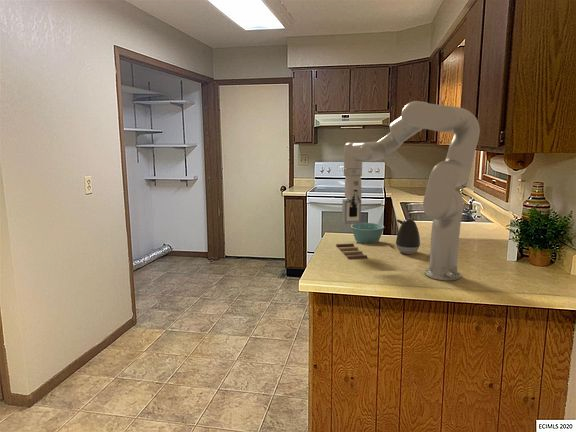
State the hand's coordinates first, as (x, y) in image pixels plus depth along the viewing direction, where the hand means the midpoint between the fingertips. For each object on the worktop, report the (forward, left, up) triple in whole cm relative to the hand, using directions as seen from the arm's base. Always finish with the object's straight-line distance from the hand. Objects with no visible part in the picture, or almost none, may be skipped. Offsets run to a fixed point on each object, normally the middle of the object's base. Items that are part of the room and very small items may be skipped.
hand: (351, 215), depth 177 cm
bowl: (+21, -14, -18) cm, 31 cm away
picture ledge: (0, 0, -18) cm, 18 cm away
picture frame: (0, 0, -3) cm, 3 cm away
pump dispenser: (+1, -26, -18) cm, 32 cm away
